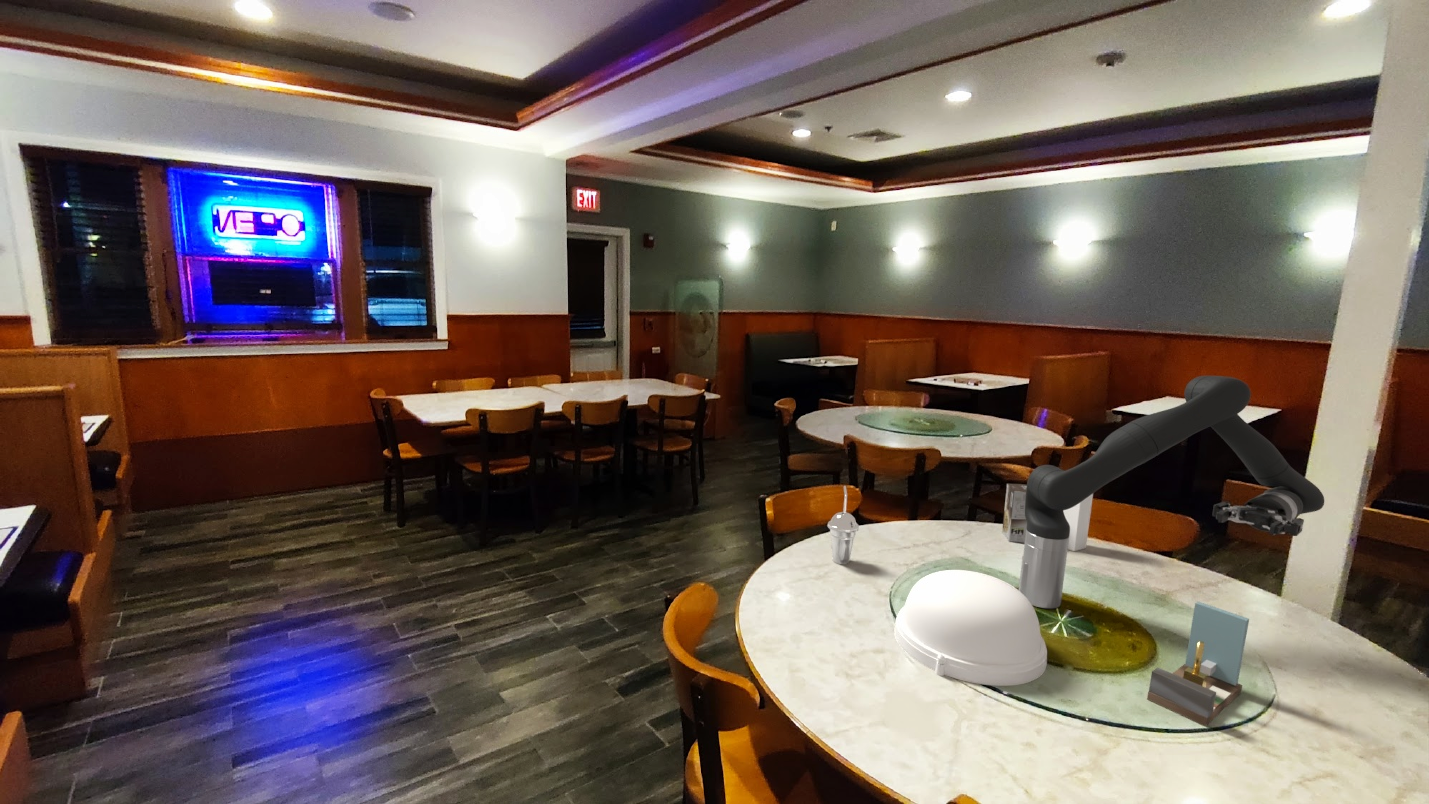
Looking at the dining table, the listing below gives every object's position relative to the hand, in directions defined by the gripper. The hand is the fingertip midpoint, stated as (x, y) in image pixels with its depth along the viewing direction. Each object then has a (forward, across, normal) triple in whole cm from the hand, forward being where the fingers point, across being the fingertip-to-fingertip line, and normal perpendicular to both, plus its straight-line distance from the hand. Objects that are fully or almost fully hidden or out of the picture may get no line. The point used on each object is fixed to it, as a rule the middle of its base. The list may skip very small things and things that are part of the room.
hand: (1245, 523), depth 132 cm
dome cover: (+45, -31, +28) cm, 62 cm away
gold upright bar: (+27, +3, +25) cm, 37 cm away
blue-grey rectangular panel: (+19, +3, +26) cm, 33 cm away
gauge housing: (+25, +3, +28) cm, 38 cm away
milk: (-32, -48, +28) cm, 64 cm away
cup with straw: (+36, -76, +28) cm, 89 cm away
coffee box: (-25, -60, +28) cm, 71 cm away
